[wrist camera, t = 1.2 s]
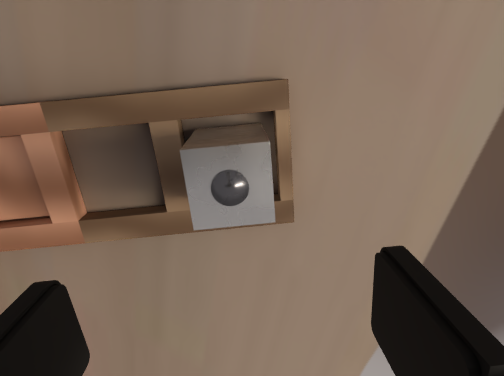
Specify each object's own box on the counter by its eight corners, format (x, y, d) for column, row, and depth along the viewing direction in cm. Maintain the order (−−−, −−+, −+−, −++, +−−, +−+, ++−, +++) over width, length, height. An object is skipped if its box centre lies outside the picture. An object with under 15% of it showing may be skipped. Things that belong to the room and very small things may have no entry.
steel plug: (196, 128, 23) (179, 150, 16) (260, 122, 23) (270, 141, 16) (205, 189, 25) (193, 231, 18) (265, 183, 25) (275, 222, 18)
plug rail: (-87, 114, 22) (-110, 116, 20) (284, 79, 22) (288, 79, 21) (-25, 245, 26) (-40, 255, 24) (291, 214, 26) (294, 222, 24)
